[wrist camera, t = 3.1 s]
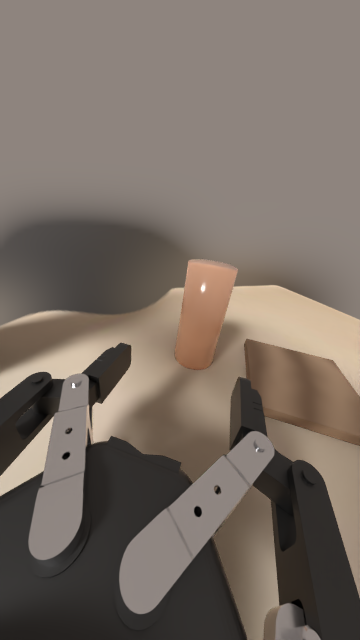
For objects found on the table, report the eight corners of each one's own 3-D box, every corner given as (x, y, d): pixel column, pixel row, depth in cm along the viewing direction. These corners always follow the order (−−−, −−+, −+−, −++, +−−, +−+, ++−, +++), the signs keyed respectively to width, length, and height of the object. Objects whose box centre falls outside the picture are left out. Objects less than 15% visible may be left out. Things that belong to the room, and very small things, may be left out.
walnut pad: (249, 411, 20) (252, 403, 19) (244, 344, 31) (246, 338, 31) (388, 454, 18) (396, 447, 17) (328, 366, 29) (332, 360, 28)
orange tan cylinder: (169, 362, 25) (183, 264, 19) (180, 340, 30) (193, 257, 23) (209, 374, 24) (238, 275, 18) (214, 350, 29) (237, 265, 22)
